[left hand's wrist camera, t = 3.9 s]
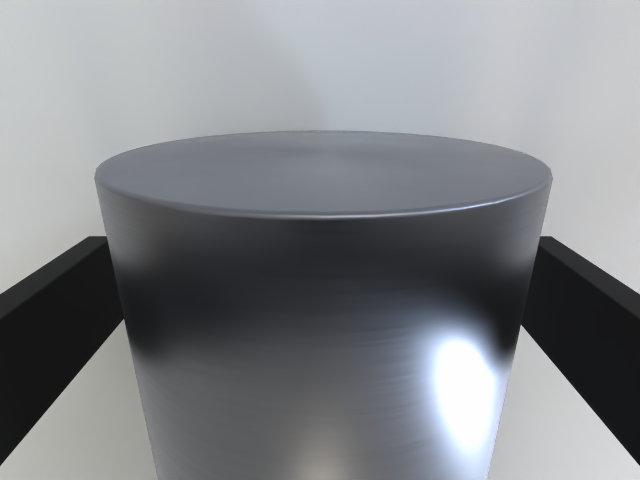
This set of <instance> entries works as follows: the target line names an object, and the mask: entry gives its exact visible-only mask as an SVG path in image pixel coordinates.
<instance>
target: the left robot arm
mask: <svg viewBox="0 0 640 480" xmlns="http://www.w3.org/2000/svg"><path fill="white" fill-rule="evenodd" d="M123 319H124V315H123V310H122V306H121V301H120V296H119V292H118V287H117V282H116V277H115V273H114V268H113V263H112V259H111V254H110V249H109V244H108V240H107V236H89V237H87V238H86V239H84V240H83V241H81V242H80V243H78V244H77V245H75V246H73V247H72V248H70V249H69V250H67V251H66V252H64V253H63V254H61V255H60V256H58V257H57V258H55V259H54V260H52V261H51V262H49V263H48V264H46V265H44V266H43V267H41V268H40V269H38V270H37V271H35V272H34V273H32V274H31V275H29V276H28V277H26V278H25V279H23V280H22V281H20V282H19V283H17V284H15V285H14V286H12V287H11V288H9V289H8V290H6V291H5V292H3V293H2V294H0V465H1V464H2V463H3V462H4V461H5V459H6V458H7V457H8V456H9V455H10V454H11V452H12V451H13V450H14V449H15V448H16V446H17V445H18V444H19V443H20V442H21V440H22V439H23V438H24V437H25V436H26V434H27V433H28V432H29V431H30V430H31V429H32V427H33V426H34V425H35V424H36V423H37V421H38V420H39V419H40V418H41V417H42V415H43V414H44V413H45V412H46V411H47V409H48V408H49V407H50V406H51V405H52V404H53V402H54V401H55V400H56V399H57V398H58V396H59V395H60V394H61V393H62V392H63V390H64V389H65V388H66V387H67V386H68V384H69V383H70V382H71V381H72V380H73V379H74V377H75V376H76V375H77V374H78V373H79V371H80V370H81V369H82V368H83V367H84V365H85V364H86V363H87V362H88V361H89V359H90V358H91V357H92V356H93V355H94V354H95V352H96V351H97V350H98V349H99V348H100V346H101V345H102V344H103V343H104V342H105V340H106V339H107V338H108V337H109V336H110V334H111V333H112V332H113V331H114V330H115V328H116V327H117V326H118V325H119V324H120V323H121V321H122V320H123ZM521 325H522V326H523V327H524V328H525V330H526V331H527V332H528V333H529V334H530V336H531V337H532V338H533V339H534V340H535V342H536V343H537V344H538V345H539V346H540V348H541V349H542V350H543V351H544V352H545V353H546V355H547V356H548V357H549V358H550V359H551V361H552V362H553V363H554V364H555V365H556V367H557V368H558V369H559V370H560V371H561V373H562V374H563V375H564V376H565V377H566V378H567V380H568V381H569V382H570V383H571V384H572V386H573V387H574V388H575V389H576V390H577V392H578V393H579V394H580V395H581V396H582V398H583V399H584V400H585V401H586V402H587V404H588V405H589V406H590V407H591V408H592V409H593V411H594V412H595V413H596V414H597V415H598V417H599V418H600V419H601V420H602V421H603V423H604V424H605V425H606V426H607V427H608V429H609V430H610V431H611V432H612V433H613V434H614V436H615V437H616V438H617V439H618V440H619V442H620V443H621V444H622V445H623V446H624V448H625V449H626V450H627V451H628V452H629V454H630V455H631V456H632V457H633V458H634V459H635V461H636V462H637V463H638V464H639V465H640V294H638V293H637V292H635V291H634V290H632V289H631V288H629V287H628V286H626V285H625V284H623V283H622V282H620V281H618V280H617V279H615V278H614V277H612V276H611V275H609V274H608V273H606V272H605V271H603V270H602V269H600V268H599V267H597V266H596V265H594V264H593V263H591V262H589V261H588V260H586V259H585V258H583V257H582V256H580V255H579V254H577V253H576V252H574V251H573V250H571V249H570V248H568V247H567V246H565V245H564V244H562V243H560V242H559V241H557V240H556V239H554V238H553V237H551V236H540V239H539V243H538V248H537V253H536V257H535V262H534V266H533V271H532V276H531V280H530V285H529V289H528V294H527V298H526V303H525V308H524V312H523V317H522V321H521Z"/></svg>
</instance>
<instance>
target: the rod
mask: <svg viewBox="0 0 640 480" xmlns="http://www.w3.org/2000/svg"><path fill="white" fill-rule="evenodd" d="M552 179H553V178H552V174H551V170H550V168H549V167H548V166H547V165H546V164H545V163H543V162H542V161H540V160H538V159H536V158H534V157H532V156H529V155H527V154H524V153H522V152H518V151H515V150H512V149H508V148H504V147H500V146H496V145H491V144H486V143H480V142H474V141H468V140H462V139H454V138H446V137H437V136H427V135H416V134H403V133H386V132H364V131H280V132H258V133H241V134H228V135H217V136H207V137H198V138H191V139H183V140H177V141H170V142H165V143H159V144H154V145H149V146H145V147H141V148H137V149H134V150H130V151H127V152H124V153H121V154H119V155H116V156H114V157H112V158H110V159H108V160H106V161H105V162H103V163H102V164H101V165H100V166H99V167H98V168H97V169H96V173H95V183H96V188H97V192H98V197H99V202H100V207H101V211H102V216H103V221H104V225H105V230H106V235H107V240H108V244H109V249H110V254H111V259H112V263H113V268H114V273H115V277H116V282H117V287H118V292H119V296H120V301H121V306H122V310H123V315H124V320H125V325H126V329H127V334H128V339H129V344H130V348H131V353H132V358H133V362H134V367H135V372H136V377H137V381H138V386H139V391H140V396H141V400H142V405H143V410H144V414H145V419H146V424H147V429H148V433H149V438H150V443H151V448H152V452H153V457H154V462H155V466H156V471H157V476H158V480H487V477H488V473H489V468H490V463H491V459H492V454H493V450H494V445H495V440H496V436H497V431H498V427H499V422H500V418H501V413H502V408H503V404H504V399H505V395H506V390H507V385H508V381H509V376H510V372H511V367H512V363H513V358H514V353H515V349H516V344H517V340H518V335H519V331H520V326H521V321H522V317H523V312H524V308H525V303H526V298H527V294H528V289H529V285H530V280H531V276H532V271H533V266H534V262H535V257H536V253H537V248H538V243H539V239H540V234H541V230H542V225H543V221H544V216H545V211H546V207H547V202H548V198H549V193H550V189H551V184H552Z"/></svg>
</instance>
